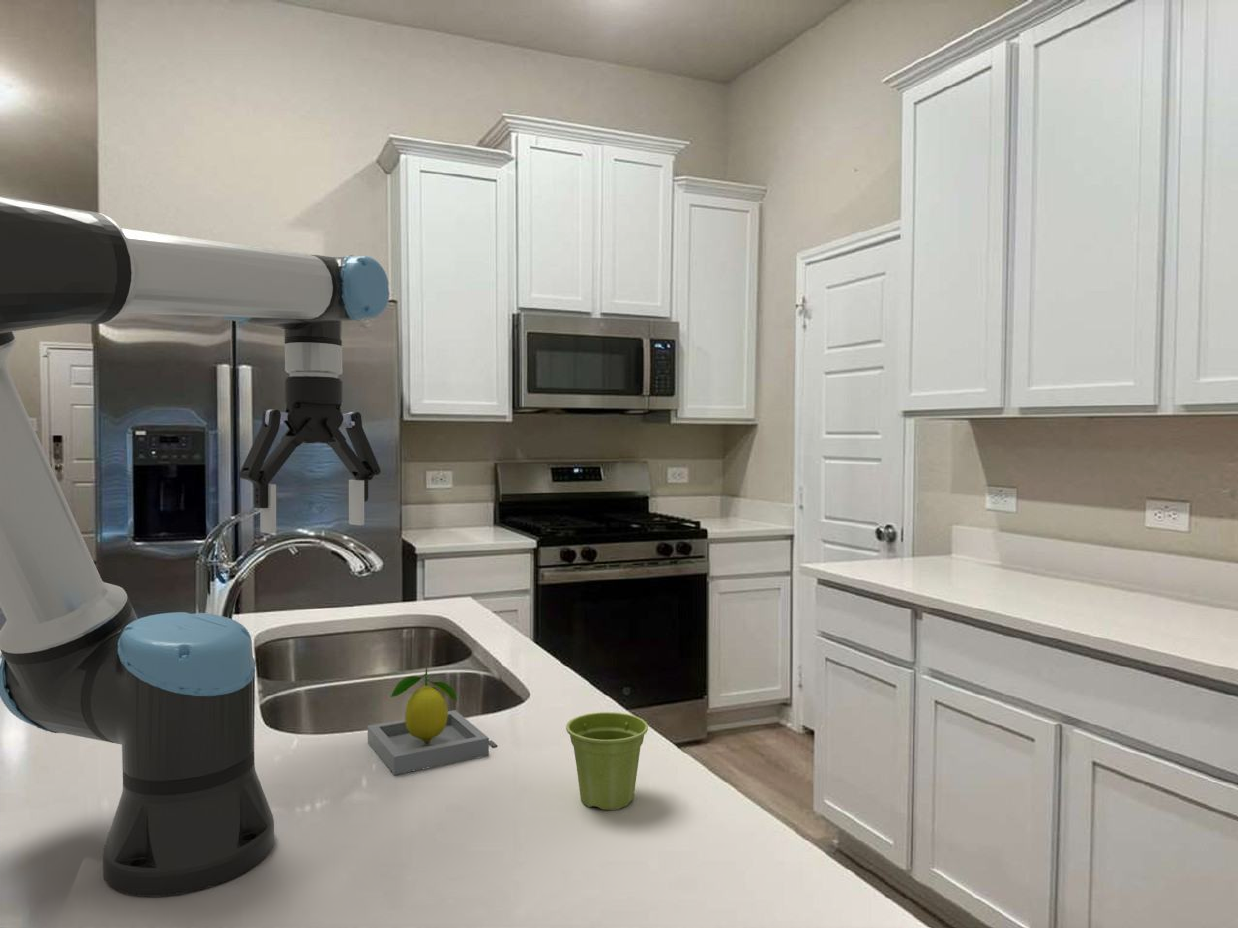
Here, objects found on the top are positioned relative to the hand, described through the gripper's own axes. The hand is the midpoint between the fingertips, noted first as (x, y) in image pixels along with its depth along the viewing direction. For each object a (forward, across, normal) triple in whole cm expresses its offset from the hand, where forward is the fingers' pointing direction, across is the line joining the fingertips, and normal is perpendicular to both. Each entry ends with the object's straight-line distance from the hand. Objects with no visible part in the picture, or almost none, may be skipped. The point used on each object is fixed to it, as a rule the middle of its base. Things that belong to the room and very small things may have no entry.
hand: (314, 528), depth 117 cm
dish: (+28, -5, +18) cm, 34 cm away
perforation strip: (+28, -13, +20) cm, 37 cm away
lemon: (+28, -5, +18) cm, 33 cm away
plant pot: (+29, -9, +46) cm, 55 cm away
